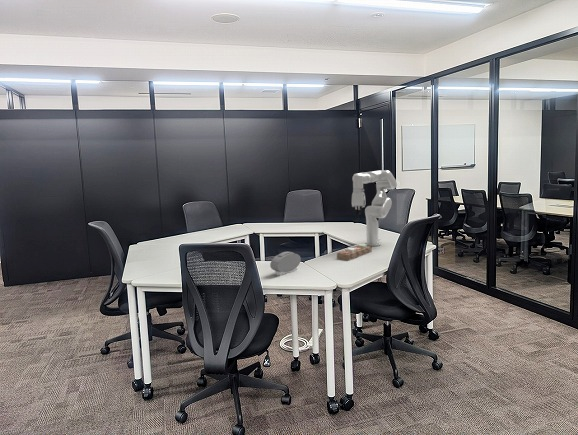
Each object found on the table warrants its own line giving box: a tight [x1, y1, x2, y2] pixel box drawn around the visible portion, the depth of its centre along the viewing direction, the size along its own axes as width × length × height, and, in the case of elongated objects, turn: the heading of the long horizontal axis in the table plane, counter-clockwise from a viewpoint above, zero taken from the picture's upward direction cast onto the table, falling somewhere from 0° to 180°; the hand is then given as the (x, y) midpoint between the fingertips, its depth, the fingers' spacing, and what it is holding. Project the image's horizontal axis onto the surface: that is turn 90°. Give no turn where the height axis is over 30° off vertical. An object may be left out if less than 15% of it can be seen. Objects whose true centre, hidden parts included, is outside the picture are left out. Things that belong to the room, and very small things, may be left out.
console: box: [336, 245, 373, 261], centre depth 310 cm, size 32×10×4 cm, turn 141°
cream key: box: [345, 247, 356, 252], centre depth 306 cm, size 5×5×3 cm
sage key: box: [357, 243, 367, 248], centre depth 318 cm, size 5×5×3 cm
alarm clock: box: [269, 251, 302, 276], centre depth 269 cm, size 23×6×13 cm, turn 141°
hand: (358, 214), depth 325 cm, fingers closed
